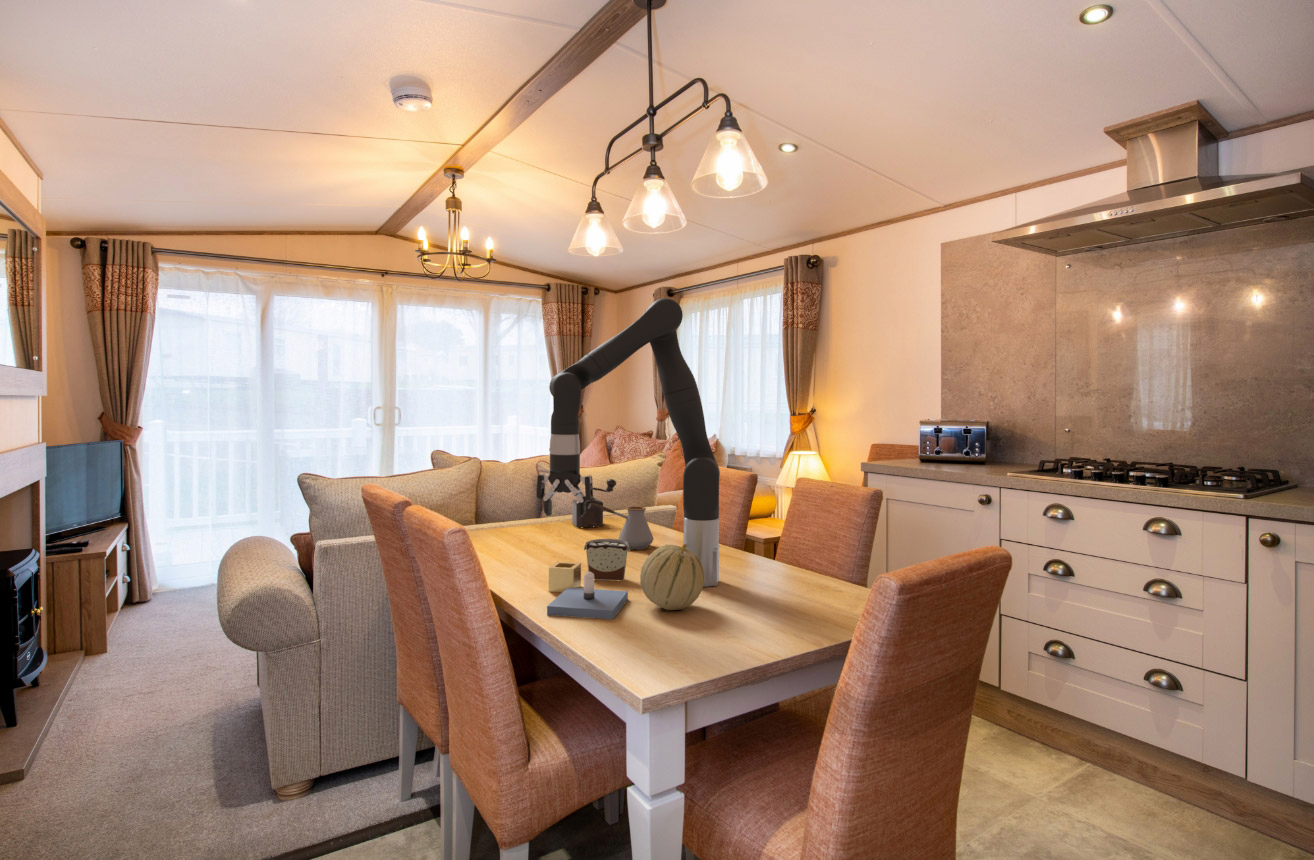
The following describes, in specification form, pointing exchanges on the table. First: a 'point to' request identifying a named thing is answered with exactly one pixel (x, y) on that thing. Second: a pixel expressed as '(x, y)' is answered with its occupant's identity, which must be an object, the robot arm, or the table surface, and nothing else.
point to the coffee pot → (633, 527)
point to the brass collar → (564, 576)
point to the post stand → (588, 601)
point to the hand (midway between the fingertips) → (564, 516)
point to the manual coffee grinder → (591, 510)
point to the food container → (607, 558)
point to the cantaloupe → (672, 577)
